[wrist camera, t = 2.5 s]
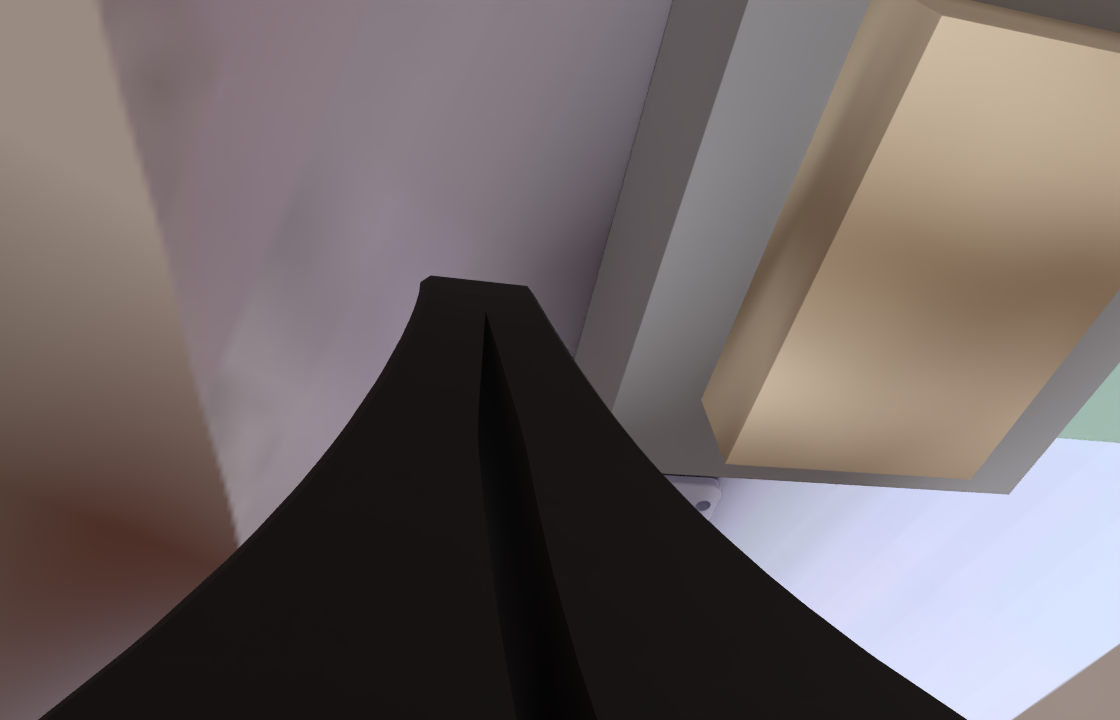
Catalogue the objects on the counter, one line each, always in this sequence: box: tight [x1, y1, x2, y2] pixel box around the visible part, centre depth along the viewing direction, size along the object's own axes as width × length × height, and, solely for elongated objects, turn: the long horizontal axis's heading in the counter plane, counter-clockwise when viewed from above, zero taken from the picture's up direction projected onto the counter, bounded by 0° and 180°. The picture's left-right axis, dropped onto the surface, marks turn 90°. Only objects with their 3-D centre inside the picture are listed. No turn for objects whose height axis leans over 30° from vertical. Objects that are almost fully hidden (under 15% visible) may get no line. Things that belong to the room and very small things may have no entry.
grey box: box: [574, 0, 1120, 494], centre depth 17 cm, size 14×12×4 cm
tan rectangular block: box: [701, 0, 1120, 480], centre depth 15 cm, size 9×6×2 cm, turn 168°
